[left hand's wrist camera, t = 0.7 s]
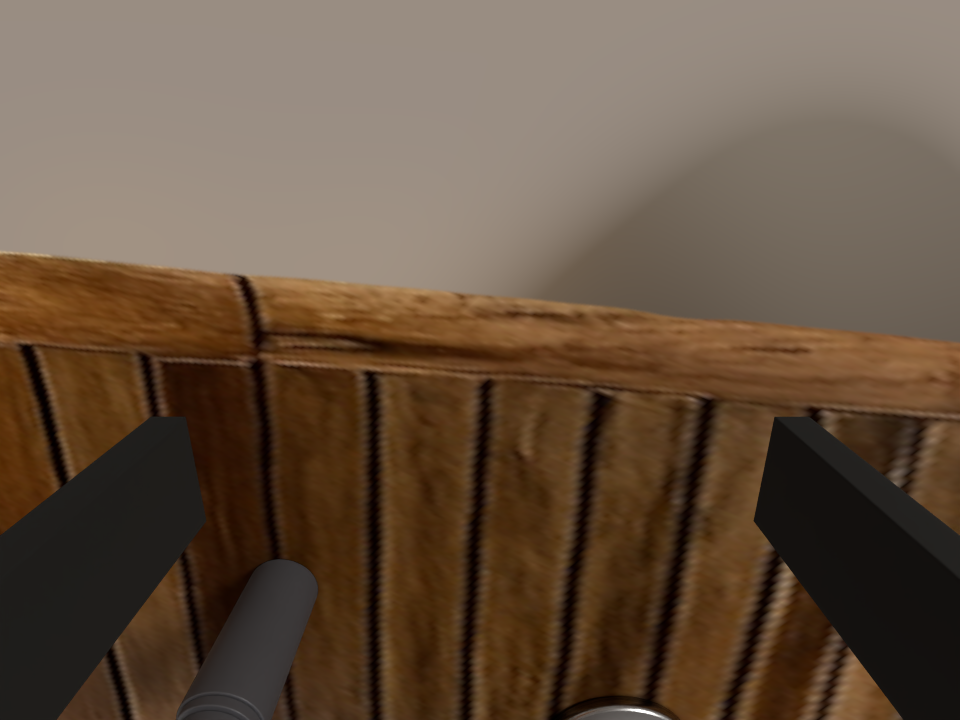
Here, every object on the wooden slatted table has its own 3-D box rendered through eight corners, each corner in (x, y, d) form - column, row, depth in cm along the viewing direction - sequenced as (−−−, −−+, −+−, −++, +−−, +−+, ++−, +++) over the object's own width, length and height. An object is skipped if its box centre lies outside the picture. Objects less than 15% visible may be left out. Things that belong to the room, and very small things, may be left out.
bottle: (273, 621, 50) (160, 872, 32) (237, 572, 48) (97, 811, 31) (330, 599, 49) (247, 845, 32) (296, 549, 47) (187, 781, 30)
